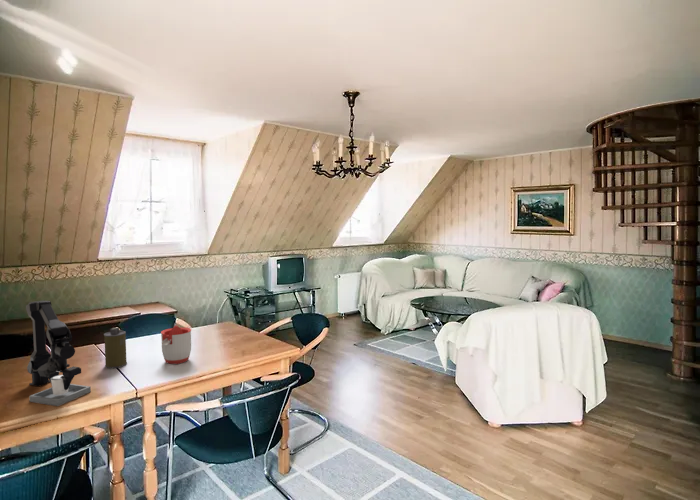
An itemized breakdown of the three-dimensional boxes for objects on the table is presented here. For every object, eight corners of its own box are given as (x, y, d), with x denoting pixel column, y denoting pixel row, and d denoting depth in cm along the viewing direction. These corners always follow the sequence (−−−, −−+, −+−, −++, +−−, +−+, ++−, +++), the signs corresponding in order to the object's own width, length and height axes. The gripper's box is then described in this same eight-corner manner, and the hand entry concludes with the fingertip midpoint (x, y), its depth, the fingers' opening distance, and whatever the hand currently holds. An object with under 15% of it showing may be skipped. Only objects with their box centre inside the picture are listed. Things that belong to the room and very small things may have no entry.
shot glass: (73, 389, 196) (72, 374, 196) (63, 395, 190) (63, 379, 189) (57, 389, 196) (57, 374, 196) (47, 395, 189) (46, 379, 189)
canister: (120, 368, 230) (119, 330, 228) (100, 368, 230) (99, 330, 229) (131, 361, 241) (129, 325, 239) (112, 361, 241) (111, 325, 239)
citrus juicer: (152, 365, 235) (151, 328, 233) (174, 355, 251) (173, 321, 250) (177, 368, 230) (176, 330, 229) (198, 358, 247) (197, 323, 245)
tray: (29, 401, 188) (29, 395, 188) (64, 387, 203) (63, 382, 203) (57, 406, 183) (57, 400, 183) (90, 391, 198) (90, 386, 198)
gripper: (24, 357, 187) (26, 393, 188) (57, 362, 181) (59, 398, 182) (49, 350, 197) (51, 384, 199) (81, 354, 192) (83, 389, 193)
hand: (60, 389), depth 193 cm, fingers closed on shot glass, 6 cm apart
